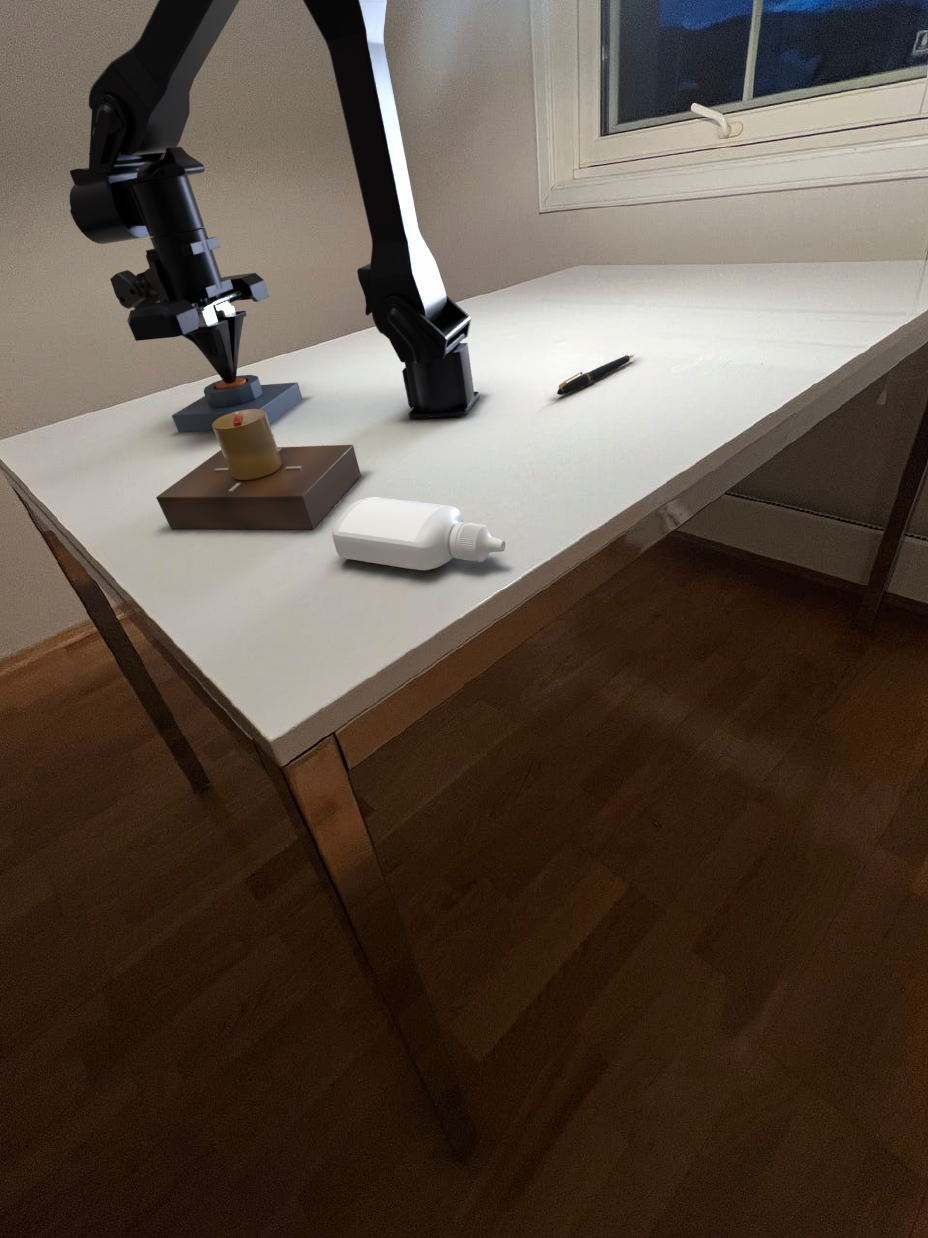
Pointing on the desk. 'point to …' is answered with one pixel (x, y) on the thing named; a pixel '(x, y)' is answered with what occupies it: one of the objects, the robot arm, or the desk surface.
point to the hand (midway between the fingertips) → (230, 382)
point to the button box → (237, 403)
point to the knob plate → (263, 491)
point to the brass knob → (247, 444)
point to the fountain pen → (591, 376)
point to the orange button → (230, 384)
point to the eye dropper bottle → (410, 534)
